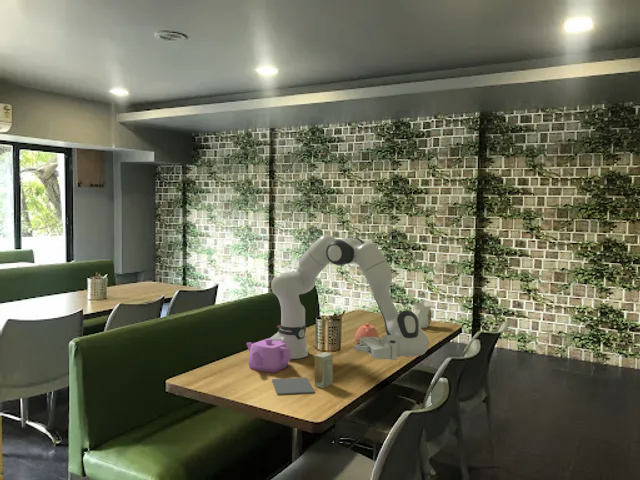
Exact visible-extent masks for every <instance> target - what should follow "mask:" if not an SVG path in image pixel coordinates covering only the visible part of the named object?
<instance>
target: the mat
mask: <svg viewBox="0 0 640 480" xmlns="http://www.w3.org/2000/svg"><path fill="white" fill-rule="evenodd" d="M271 381H272V384H273V387H274V390H275V394H276V395H277V396H284V395H303V394H304V395H305V394H315V393H316V392H315V390H314V387H313V385H312V384H311V382H310V381H309V379H308V377H293V378H291V377H290V378H272V379H271Z"/></svg>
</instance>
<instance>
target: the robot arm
mask: <svg viewBox="0 0 640 480" xmlns="http://www.w3.org/2000/svg"><path fill="white" fill-rule="evenodd" d="M329 263H331V264H332V265H335V266H336V265H337V266H344V265H349V264H353V263H356V264H357V265H358V266H359V268H360V270H361V272H362V274H363V276H364V278H365V279H366V282H367V284H368V286H369V287H370V290H371V292H372V295H373V298H374V300H375V301H376V304H377V307H378V310H379V311H380V314H381V316H382V318H383V321H384V329H385V333H386V334H384V335H383V336H382V337H381V338H380V337H379V338H377V337H361V338H360V343H357V344H354V345H353V349H354V350H355V351H356V352H363V353H368V354H369V355H370V356H371V357H372V358H373V359H376V360H390V361H396V360H397V358H399V357H406V358H410V357H419V356H422V355H424V354H425V353H426V352H427V351H428V348H429V345H430V343H429V337H428V336H427V335H426V334H425V332H424V331H423V330H422V329H423V328H421V327H420V325H419V322H418V318H417V316H416V315H415V314H414V313H413V311H410V310H407V309H406V310H402V311H401V312H399V313H398V311H397V308H396V306H395V303H394V302H393V300H392V298H391V294H390V290H391V284H392V281H393V273H392V270H391V267H390V265H389V263H388V261H387V260H386V258H385V256H384V255H383V253H382V251H381V250H380V249H379V248H378V246H377V245H376V244H375V243H373V242H372V241H371V242H364V240H363V239H361V238H358V237H346V238H341V239H336V238H335V237H334V236H333V235H330V234H323V235H322V236H320V237H319V238H317V240H315V241H314V242H313V243H312V244H311V245H310V247H309V248H307V250H305V252H304V253H303V254H302V256H301V257H299V259H298V267H297V268H296V269H295V270H292V271H290V272H289V271H288V272H282V273H280V274H278V275H276V276H274V277H273V279H272V281H271V283H270V284H271V285H270V287H271V291H272V293H273V294H274V295H275V296H276V297H277V299H278V302H279V305H280V311H281V312H280V313H281V314H280V315H281V317H280V318H281V319H280V323H281V324H278V325H276V328H277V329H278V330H277V332H276V333H274V335H272V336H271V337H269V338H270V339H273V340H272V341H279V340H280V341H283V342H284V343H285V344H286V346H287V348H290V360H295V359H297V360H299V359H303V358H306V357H307V356H309V354H308V352H309V351H308V348H307V338H306V337H307V336H306V331H307V325H306V309H305V306H304V305H303V304H302V303H301V300H300V295H304V294H306V293H308V292H310V291H312V290H313V289H314V288H315V285H316V279H317V277H318V276H319V274H320V273H321V272H322V271H323V270H324V269H325V268H326V267H327V266H328V264H329Z"/></svg>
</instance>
